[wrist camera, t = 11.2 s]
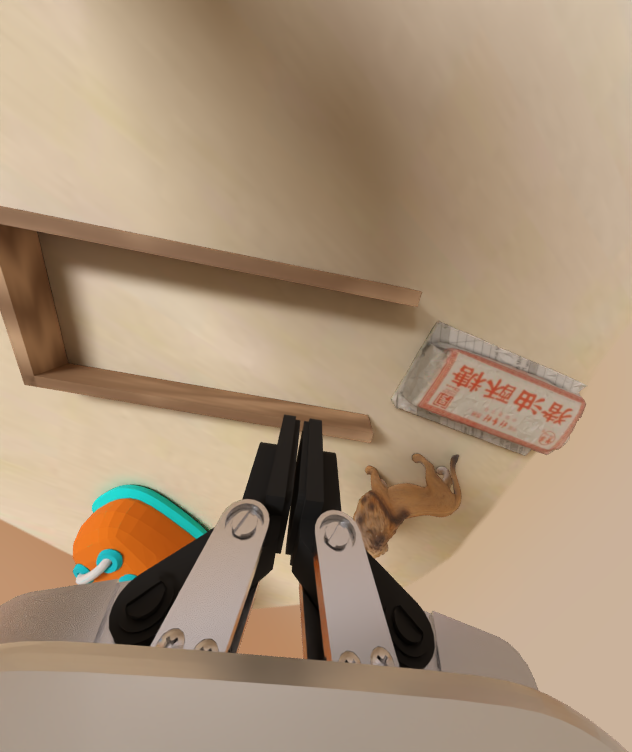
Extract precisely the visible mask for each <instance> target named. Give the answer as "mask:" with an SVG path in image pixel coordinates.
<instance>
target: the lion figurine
mask: <svg viewBox="0 0 632 752" xmlns="http://www.w3.org/2000/svg"><path fill="white" fill-rule="evenodd" d="M458 457H459V455H454V456H452V458H451V461H450V470H451V475H450V473H449V470H448V469H447V468H446V467H438V468H437V469H436V472H437V473H438V474H439V475H444V478H443V480H441V479H440V478H439V476H438V475H437V474H436V473H435V471H434V466H433V465H432V464H431V463H430V462H428V461H427V460H426V459H425V458H424V457H423V456H422V455H420V454H414V455H413V456H412V460H413V461H414V462H415V463H422V464H423V465H424V466H425V469H426V483H427V486H426V487H421V486H418V485H414V484H409V483H403V484H397V485H393V486H391V487H388V488H387V484H386V482H385V481H384V480H383V479H380V477H379V474H378V472H377V471H376V469H375V468H374V467H372V466H367V467H366V469H365V472H366V473H367V474H370V475H371V487H372V491H369V492H368V493H366V494H365V495H364V496H362V498H361V499H359V503H358V506H357V510H356V512H355V514H354V516H353V520H354V521H355V522H356V524H357V526H358V528H359V530H360V533H361V536H362V540H363V543H364V547H365V549H366V550H367V551H368V552H369V554H370V555H371V556H372V557H373V558H376V557H379V556H380V555H381V554H382V555H383V554H384V553H385V552H387V551H388V545H387V542H388V541H389V539H390V538H392V536H393V535H394V534H395V533H396V530H397V528H398V527H399V525H400V524H402V522H403V521H404V519H407V518H411V517H415V516H421V515H430V516H436V517H446V516H449V515H451V514H452V513H453V512H454V511H455V510H457V509H458V507H459V506H460V503H461V490H460V486H459V483H458V479H457V476H456V472H455V464H456V462H457V460H458ZM451 476H452V478H451ZM452 484H453V488H454V493H452V492H451V490H450V487H451V485H452Z"/></svg>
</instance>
